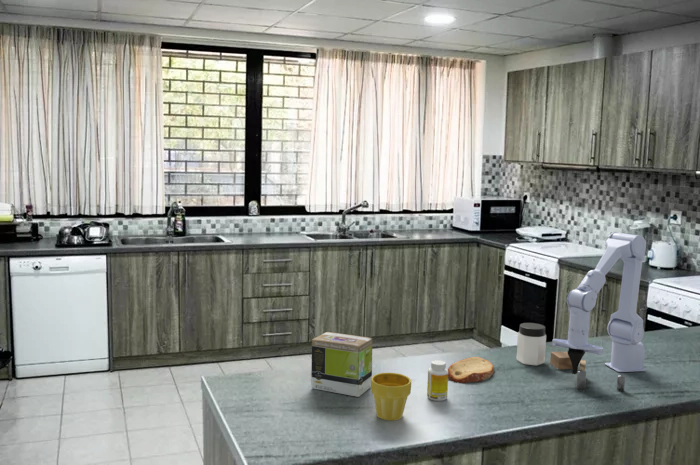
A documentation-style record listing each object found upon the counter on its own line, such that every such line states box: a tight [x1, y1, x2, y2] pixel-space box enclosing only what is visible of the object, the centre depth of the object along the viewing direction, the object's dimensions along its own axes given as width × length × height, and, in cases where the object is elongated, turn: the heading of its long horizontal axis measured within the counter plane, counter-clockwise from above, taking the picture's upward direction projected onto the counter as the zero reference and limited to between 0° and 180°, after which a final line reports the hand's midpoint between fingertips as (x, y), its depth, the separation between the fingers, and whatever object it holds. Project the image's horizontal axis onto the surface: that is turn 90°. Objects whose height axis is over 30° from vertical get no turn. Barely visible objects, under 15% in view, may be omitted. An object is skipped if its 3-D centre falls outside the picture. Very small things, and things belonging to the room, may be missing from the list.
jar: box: [515, 322, 547, 366], centre depth 215 cm, size 9×8×12 cm
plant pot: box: [370, 372, 412, 421], centre depth 169 cm, size 10×10×10 cm
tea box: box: [310, 331, 373, 398], centre depth 187 cm, size 15×10×15 cm, turn 65°
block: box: [549, 351, 573, 370], centre depth 212 cm, size 6×6×4 cm
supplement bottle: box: [426, 359, 449, 402], centre depth 182 cm, size 6×6×10 cm
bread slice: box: [447, 356, 495, 384], centre depth 204 cm, size 18×18×4 cm
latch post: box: [616, 374, 626, 392], centre depth 191 cm, size 2×2×4 cm
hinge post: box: [575, 369, 587, 392], centre depth 191 cm, size 2×2×6 cm
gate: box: [578, 359, 587, 371], centre depth 198 cm, size 11×2×5 cm, turn 159°
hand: (574, 373), depth 199 cm, fingers closed
